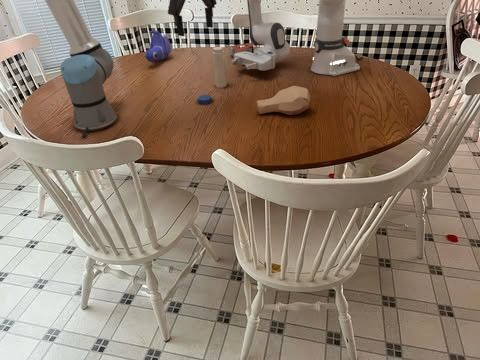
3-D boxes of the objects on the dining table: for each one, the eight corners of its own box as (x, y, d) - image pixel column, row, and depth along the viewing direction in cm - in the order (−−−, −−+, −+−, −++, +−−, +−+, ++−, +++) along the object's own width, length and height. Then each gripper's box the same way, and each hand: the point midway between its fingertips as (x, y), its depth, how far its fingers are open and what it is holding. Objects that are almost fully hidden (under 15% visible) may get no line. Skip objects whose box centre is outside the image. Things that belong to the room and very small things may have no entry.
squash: (314, 116, 128) (313, 95, 122) (259, 125, 130) (256, 105, 124) (308, 99, 136) (307, 78, 129) (257, 108, 138) (253, 88, 131)
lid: (197, 104, 141) (197, 100, 140) (198, 99, 146) (197, 95, 145) (212, 103, 142) (211, 99, 141) (211, 98, 146) (211, 94, 145)
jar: (213, 86, 156) (209, 49, 147) (219, 83, 159) (216, 45, 150) (222, 88, 154) (219, 50, 144) (228, 84, 157) (226, 47, 148)
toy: (159, 62, 200) (139, 68, 178) (155, 30, 193) (133, 32, 171) (176, 61, 198) (157, 67, 176) (172, 29, 191) (151, 31, 169)
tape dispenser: (245, 69, 176) (265, 54, 189) (245, 58, 173) (265, 44, 185) (216, 62, 184) (237, 49, 196) (215, 52, 180) (236, 39, 193)
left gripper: (163, -33, 106) (175, 40, 119) (223, -42, 120) (227, 25, 133) (149, -34, 111) (161, 37, 123) (208, -42, 125) (214, 22, 137)
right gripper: (246, 46, 170) (224, 53, 163) (277, 54, 157) (254, 62, 150) (247, 59, 174) (225, 67, 167) (277, 69, 161) (255, 77, 154)
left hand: (196, 31), depth 128 cm, fingers open, 13 cm apart
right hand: (239, 65), depth 158 cm, fingers open, 8 cm apart
